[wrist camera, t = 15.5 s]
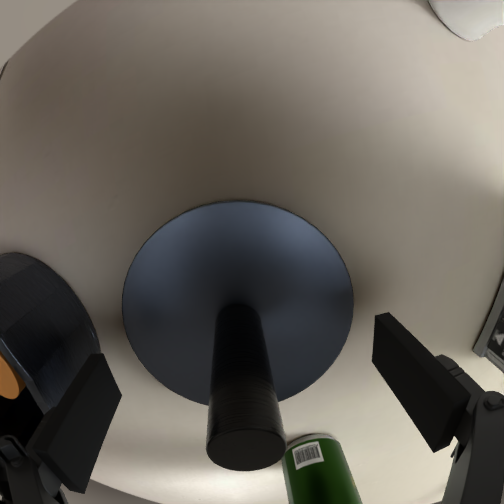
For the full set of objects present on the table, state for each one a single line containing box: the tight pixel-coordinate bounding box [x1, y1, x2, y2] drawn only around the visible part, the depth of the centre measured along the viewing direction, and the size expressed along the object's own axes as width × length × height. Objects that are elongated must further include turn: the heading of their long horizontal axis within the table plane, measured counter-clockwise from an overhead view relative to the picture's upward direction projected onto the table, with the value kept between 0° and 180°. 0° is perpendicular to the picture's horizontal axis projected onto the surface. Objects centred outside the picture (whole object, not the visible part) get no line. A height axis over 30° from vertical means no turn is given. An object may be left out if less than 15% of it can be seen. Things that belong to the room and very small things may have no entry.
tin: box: [0, 253, 100, 448], centre depth 14 cm, size 13×13×8 cm
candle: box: [0, 351, 26, 399], centre depth 14 cm, size 4×4×6 cm
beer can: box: [281, 434, 362, 504], centre depth 16 cm, size 5×5×12 cm
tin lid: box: [122, 200, 354, 471], centre depth 13 cm, size 14×14×10 cm
